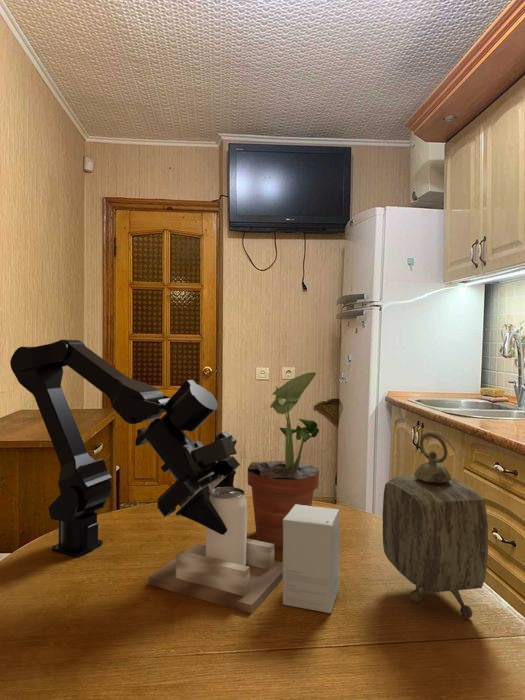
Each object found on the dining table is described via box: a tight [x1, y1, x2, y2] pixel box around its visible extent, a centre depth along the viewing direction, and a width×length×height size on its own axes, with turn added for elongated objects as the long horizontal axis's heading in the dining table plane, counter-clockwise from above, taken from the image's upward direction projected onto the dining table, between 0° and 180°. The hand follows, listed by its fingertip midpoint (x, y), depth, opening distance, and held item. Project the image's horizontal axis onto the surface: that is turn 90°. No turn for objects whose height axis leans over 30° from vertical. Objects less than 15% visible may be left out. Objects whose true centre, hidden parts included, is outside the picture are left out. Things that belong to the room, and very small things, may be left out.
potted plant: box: [247, 372, 320, 547], centre depth 95 cm, size 16×15×35 cm
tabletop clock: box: [382, 431, 489, 619], centre depth 71 cm, size 14×9×25 cm, turn 12°
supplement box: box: [282, 504, 340, 614], centre depth 71 cm, size 7×7×13 cm
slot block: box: [147, 538, 283, 615], centre depth 77 cm, size 18×14×5 cm
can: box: [205, 486, 248, 566], centre depth 76 cm, size 6×6×12 cm
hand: (233, 525), depth 76 cm, fingers closed on can, 6 cm apart
